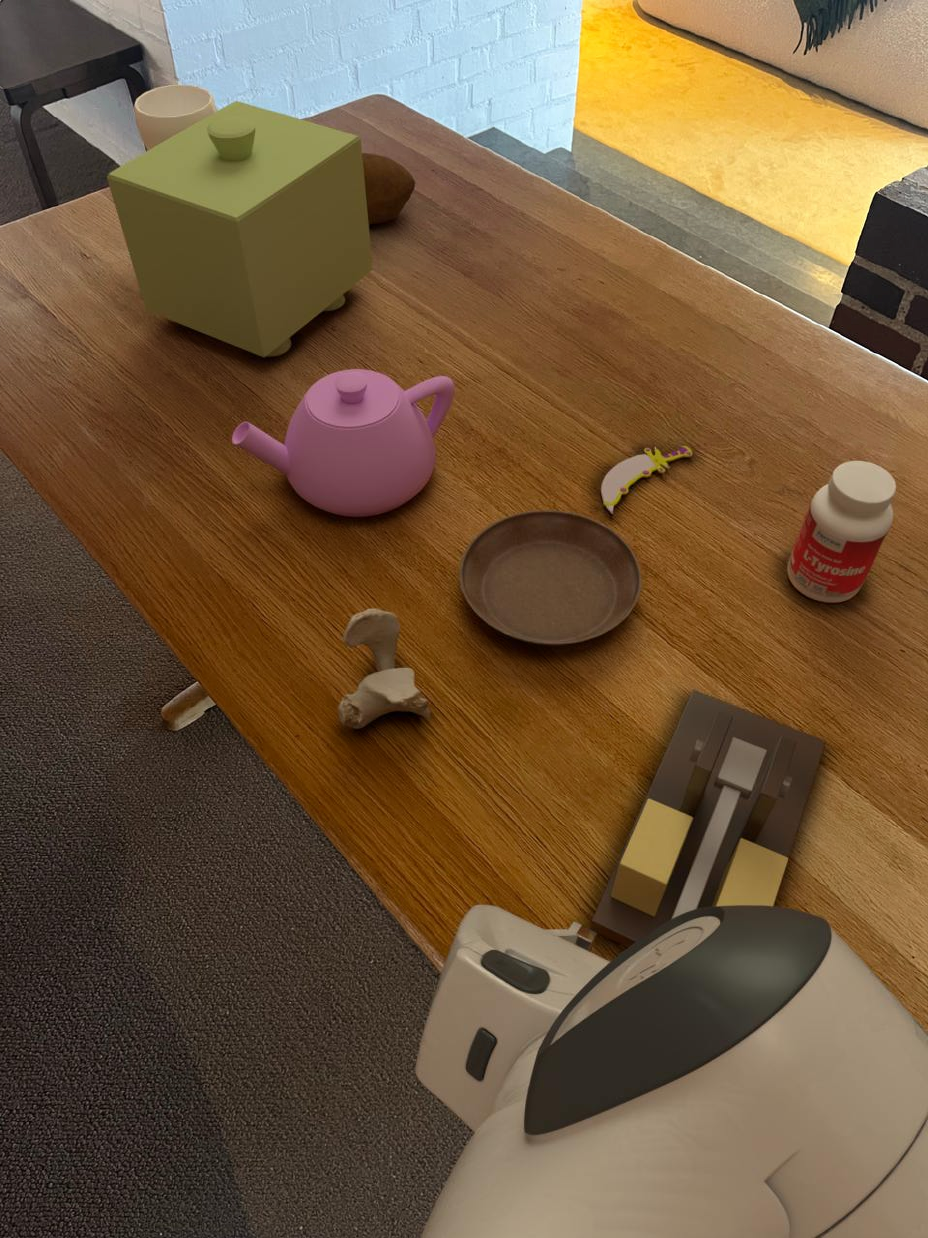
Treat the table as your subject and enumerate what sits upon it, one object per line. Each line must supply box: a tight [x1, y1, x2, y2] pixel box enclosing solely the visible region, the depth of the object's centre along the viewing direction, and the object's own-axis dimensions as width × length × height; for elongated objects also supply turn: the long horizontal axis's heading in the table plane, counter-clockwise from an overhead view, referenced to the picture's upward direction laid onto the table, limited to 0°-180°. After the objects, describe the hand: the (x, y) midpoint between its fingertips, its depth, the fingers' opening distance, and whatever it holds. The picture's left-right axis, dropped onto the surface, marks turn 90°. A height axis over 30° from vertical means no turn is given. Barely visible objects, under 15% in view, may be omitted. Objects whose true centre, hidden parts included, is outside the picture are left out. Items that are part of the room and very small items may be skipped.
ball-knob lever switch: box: [649, 737, 767, 933], centre depth 57 cm, size 15×3×3 cm, turn 153°
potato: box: [362, 152, 416, 226], centre depth 116 cm, size 8×12×8 cm, turn 114°
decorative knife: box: [600, 445, 693, 515], centre depth 89 cm, size 12×1×5 cm
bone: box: [337, 608, 431, 730], centre depth 70 cm, size 9×6×10 cm
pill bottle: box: [786, 460, 897, 604], centre depth 76 cm, size 6×6×11 cm
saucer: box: [458, 509, 643, 647], centre depth 79 cm, size 15×15×3 cm
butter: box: [611, 799, 789, 916], centre depth 60 cm, size 9×5×5 cm, turn 63°
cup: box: [133, 84, 218, 151], centre depth 110 cm, size 9×9×16 cm
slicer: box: [589, 689, 827, 948], centre depth 62 cm, size 20×10×11 cm, turn 153°
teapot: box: [231, 368, 455, 518], centre depth 85 cm, size 14×20×11 cm
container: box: [106, 100, 373, 358], centre depth 99 cm, size 19×16×20 cm
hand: (661, 977), depth 53 cm, fingers open, 8 cm apart
